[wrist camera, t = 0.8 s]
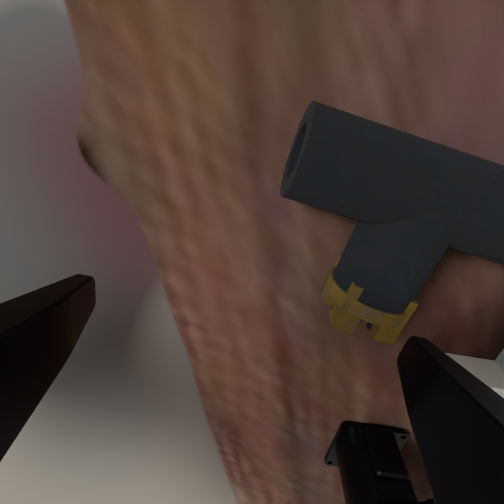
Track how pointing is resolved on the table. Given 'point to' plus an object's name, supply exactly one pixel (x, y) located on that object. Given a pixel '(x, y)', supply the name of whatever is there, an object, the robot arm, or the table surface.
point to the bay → (485, 370)
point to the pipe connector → (391, 211)
